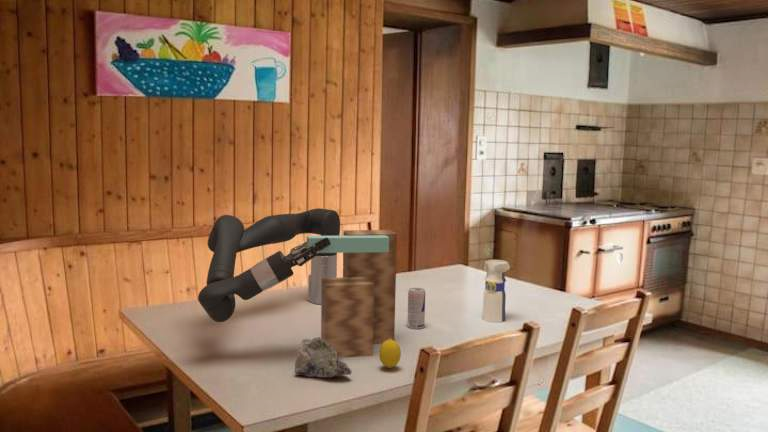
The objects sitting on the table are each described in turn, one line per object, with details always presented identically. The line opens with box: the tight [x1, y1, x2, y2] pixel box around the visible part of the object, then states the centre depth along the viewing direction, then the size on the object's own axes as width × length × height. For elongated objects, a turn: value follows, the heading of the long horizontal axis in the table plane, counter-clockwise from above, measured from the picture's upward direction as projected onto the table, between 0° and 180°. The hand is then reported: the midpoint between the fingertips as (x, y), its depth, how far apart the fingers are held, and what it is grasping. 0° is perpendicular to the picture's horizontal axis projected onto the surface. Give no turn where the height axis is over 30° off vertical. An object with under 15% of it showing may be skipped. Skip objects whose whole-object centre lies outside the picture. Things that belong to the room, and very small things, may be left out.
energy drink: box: [406, 287, 426, 330], centre depth 206 cm, size 5×5×12 cm
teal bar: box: [306, 235, 389, 254], centre depth 179 cm, size 22×4×4 cm, turn 103°
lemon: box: [378, 339, 402, 370], centre depth 170 cm, size 6×6×8 cm
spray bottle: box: [481, 245, 511, 323], centre depth 216 cm, size 8×9×25 cm
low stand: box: [320, 276, 374, 358], centre depth 181 cm, size 13×9×20 cm
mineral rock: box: [294, 336, 353, 379], centre depth 163 cm, size 13×11×10 cm
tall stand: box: [342, 229, 398, 345], centre depth 191 cm, size 14×8×32 cm, turn 103°
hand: (327, 239), depth 177 cm, fingers closed on teal bar, 4 cm apart
